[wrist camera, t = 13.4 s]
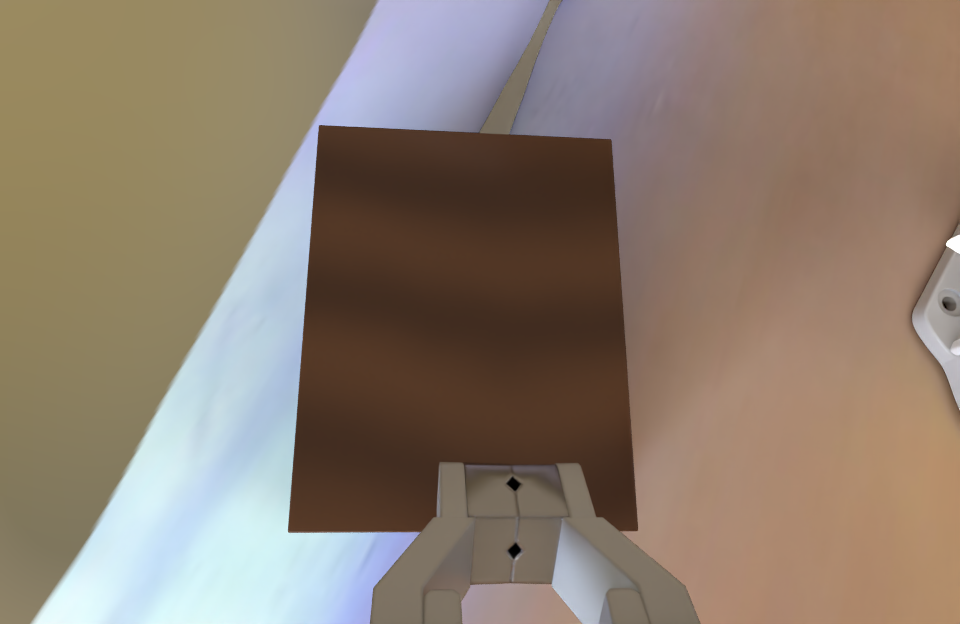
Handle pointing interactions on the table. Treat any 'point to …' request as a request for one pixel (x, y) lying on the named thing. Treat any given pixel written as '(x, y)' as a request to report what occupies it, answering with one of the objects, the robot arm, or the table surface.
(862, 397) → the table surface
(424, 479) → the lid
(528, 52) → the fork
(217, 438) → the table surface
